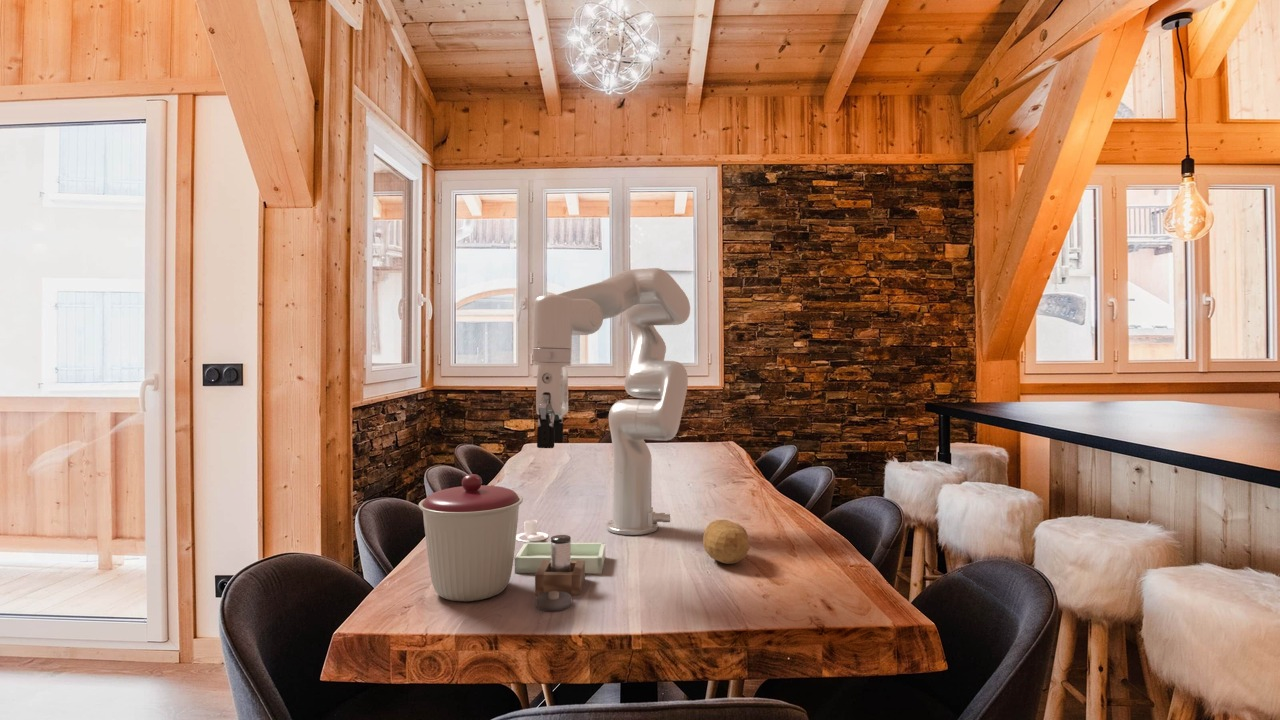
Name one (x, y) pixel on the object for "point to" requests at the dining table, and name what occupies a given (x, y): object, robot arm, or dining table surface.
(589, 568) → the tray
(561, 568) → the dark capped bottle
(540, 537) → the teacup and saucer
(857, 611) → the dining table surface
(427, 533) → the canister
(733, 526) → the potato
